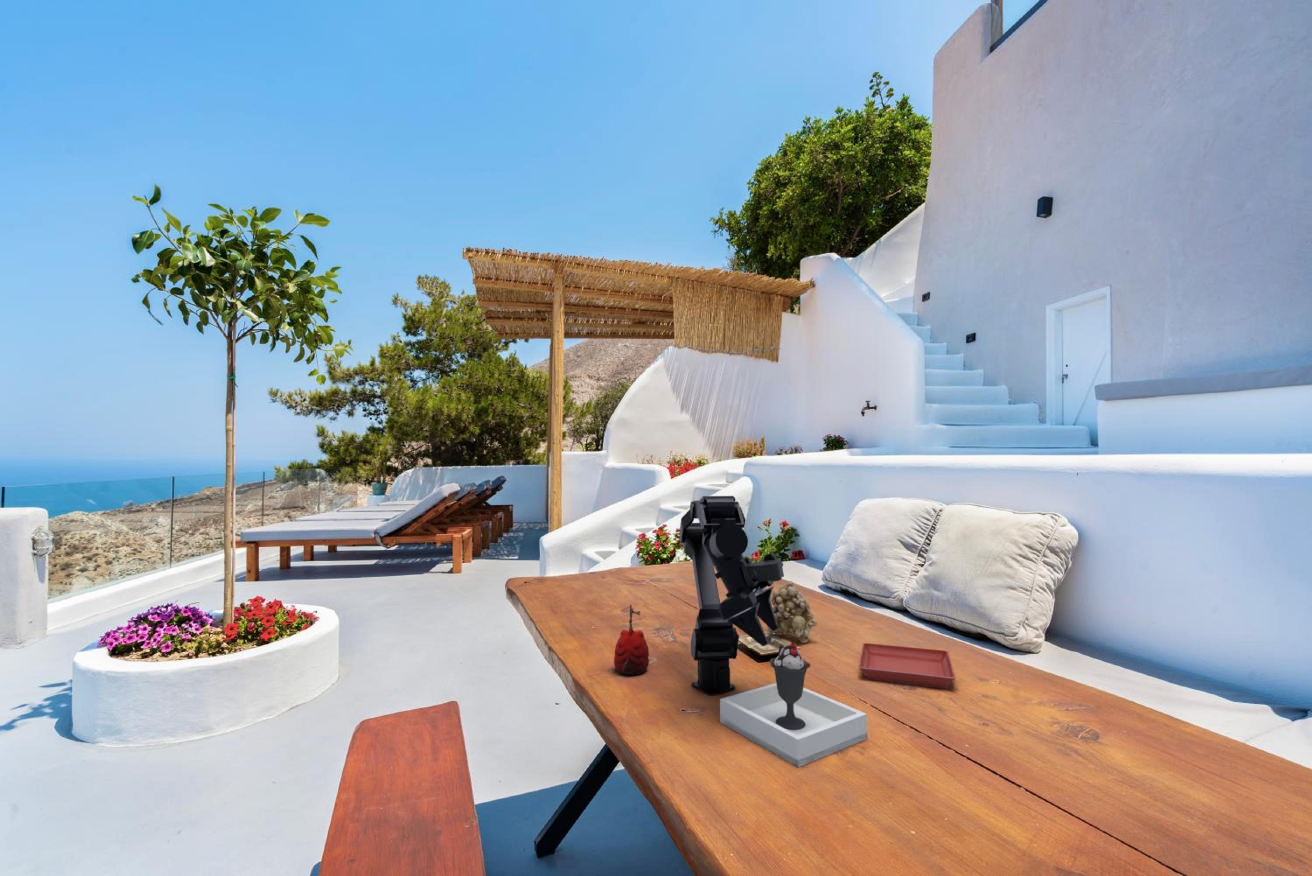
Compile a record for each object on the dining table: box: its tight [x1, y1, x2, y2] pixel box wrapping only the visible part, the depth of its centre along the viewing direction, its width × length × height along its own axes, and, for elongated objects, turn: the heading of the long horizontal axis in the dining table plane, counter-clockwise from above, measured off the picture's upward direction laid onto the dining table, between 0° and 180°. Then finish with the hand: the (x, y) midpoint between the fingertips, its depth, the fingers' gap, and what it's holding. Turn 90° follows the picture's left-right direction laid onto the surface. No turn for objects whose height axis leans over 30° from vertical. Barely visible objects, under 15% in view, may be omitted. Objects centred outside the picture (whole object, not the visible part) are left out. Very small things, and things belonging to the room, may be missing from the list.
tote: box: [719, 682, 868, 768], centre depth 99 cm, size 18×16×4 cm
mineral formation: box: [766, 580, 818, 644], centre depth 150 cm, size 8×13×15 cm, turn 42°
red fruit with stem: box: [613, 604, 650, 676], centre depth 127 cm, size 8×7×15 cm
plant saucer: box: [858, 642, 956, 689], centre depth 126 cm, size 18×18×3 cm
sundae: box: [769, 636, 811, 730], centre depth 99 cm, size 7×7×15 cm
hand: (770, 637), depth 107 cm, fingers open, 9 cm apart
